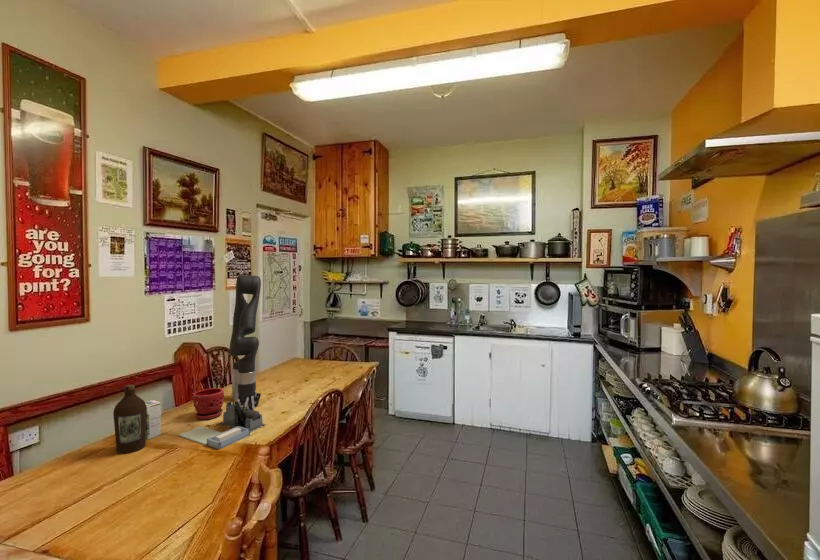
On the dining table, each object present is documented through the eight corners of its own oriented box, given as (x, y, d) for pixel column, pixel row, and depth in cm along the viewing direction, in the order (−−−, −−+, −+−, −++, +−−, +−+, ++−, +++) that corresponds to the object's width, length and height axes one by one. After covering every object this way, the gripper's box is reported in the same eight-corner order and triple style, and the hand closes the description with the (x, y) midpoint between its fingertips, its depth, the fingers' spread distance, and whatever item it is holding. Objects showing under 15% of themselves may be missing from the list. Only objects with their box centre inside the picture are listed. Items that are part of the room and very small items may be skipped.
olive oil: (115, 446, 153) (114, 384, 153) (147, 440, 159) (146, 380, 158) (112, 457, 144) (111, 391, 144) (147, 450, 150) (145, 386, 150)
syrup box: (139, 437, 162) (138, 403, 161) (154, 432, 167) (153, 399, 166) (146, 440, 159) (146, 405, 159) (161, 434, 164) (161, 401, 164)
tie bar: (215, 443, 155) (215, 436, 155) (237, 433, 164) (236, 427, 164) (219, 444, 154) (219, 438, 154) (241, 434, 163) (241, 428, 163)
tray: (206, 445, 154) (206, 439, 154) (238, 431, 167) (238, 426, 167) (219, 449, 151) (219, 443, 151) (250, 435, 164) (250, 429, 164)
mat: (178, 436, 163) (178, 434, 163) (200, 427, 172) (200, 426, 172) (205, 445, 154) (205, 443, 154) (227, 435, 163) (227, 434, 163)
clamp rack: (220, 424, 175) (220, 401, 175) (236, 418, 182) (236, 395, 182) (249, 432, 166) (249, 408, 166) (264, 425, 174) (264, 402, 173)
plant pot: (229, 411, 191) (229, 387, 191) (213, 421, 178) (213, 396, 178) (204, 410, 193) (204, 386, 192) (187, 420, 180) (186, 395, 179)
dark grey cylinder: (226, 413, 177) (225, 406, 177) (232, 411, 180) (232, 403, 180) (253, 421, 168) (252, 412, 168) (259, 418, 172) (259, 410, 171)
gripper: (238, 386, 164) (239, 426, 165) (265, 378, 177) (265, 415, 177) (227, 384, 168) (227, 423, 168) (253, 376, 180) (254, 412, 181)
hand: (247, 418), depth 173 cm, fingers closed on dark grey cylinder, 3 cm apart
